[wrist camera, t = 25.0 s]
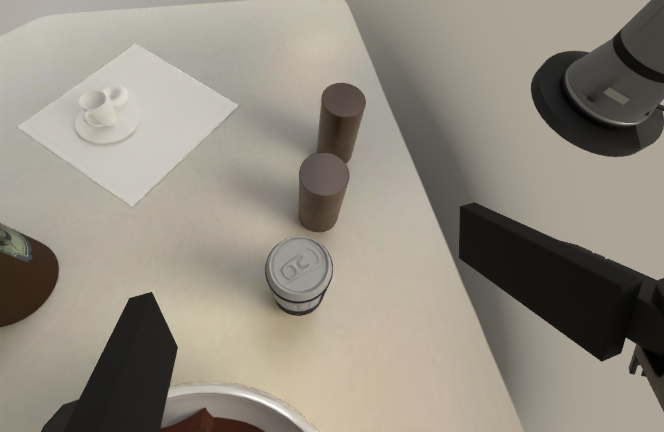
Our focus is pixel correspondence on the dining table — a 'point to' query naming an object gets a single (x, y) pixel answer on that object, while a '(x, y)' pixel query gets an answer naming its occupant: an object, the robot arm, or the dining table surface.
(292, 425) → the white serving bowl
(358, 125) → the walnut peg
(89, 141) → the teacup and saucer
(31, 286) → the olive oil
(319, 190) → the walnut peg middle
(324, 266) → the beverage can
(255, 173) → the dining table surface
